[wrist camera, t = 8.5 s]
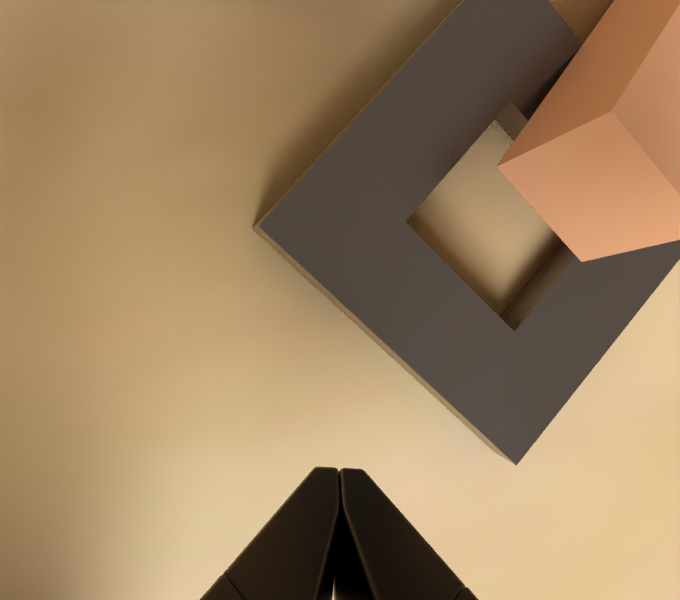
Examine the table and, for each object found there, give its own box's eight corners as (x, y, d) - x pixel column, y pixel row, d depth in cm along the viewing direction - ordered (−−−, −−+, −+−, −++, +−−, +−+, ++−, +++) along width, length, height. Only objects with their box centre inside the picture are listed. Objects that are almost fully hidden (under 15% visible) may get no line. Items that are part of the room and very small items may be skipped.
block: (710, 232, 16) (834, -25, 20) (611, 111, 15) (765, -132, 19) (581, 262, 19) (710, 40, 24) (495, 167, 18) (647, -47, 23)
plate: (494, 451, 23) (516, 465, 21) (252, 228, 20) (258, 226, 18) (684, 214, 24) (716, 211, 23) (485, -28, 21) (508, -49, 20)
